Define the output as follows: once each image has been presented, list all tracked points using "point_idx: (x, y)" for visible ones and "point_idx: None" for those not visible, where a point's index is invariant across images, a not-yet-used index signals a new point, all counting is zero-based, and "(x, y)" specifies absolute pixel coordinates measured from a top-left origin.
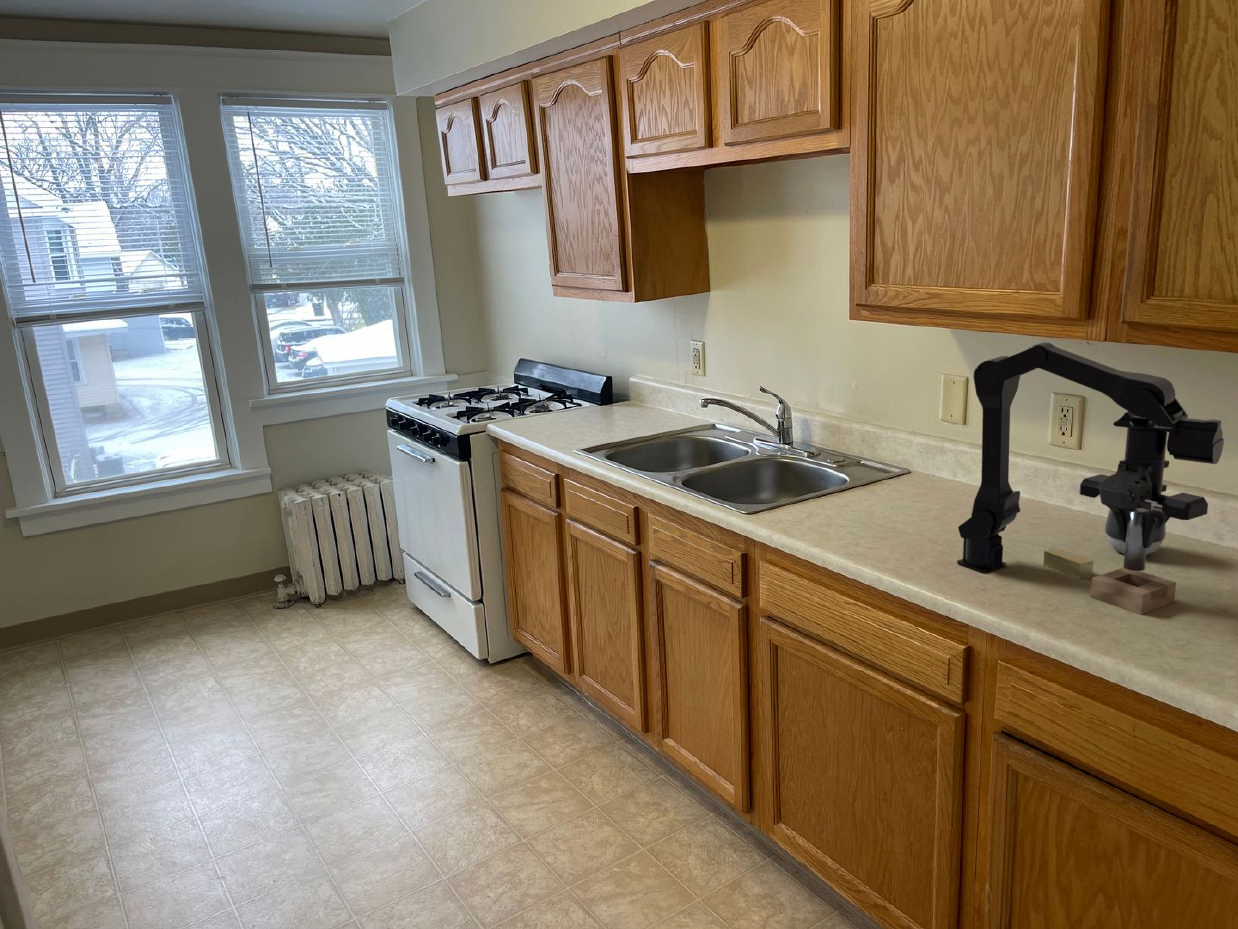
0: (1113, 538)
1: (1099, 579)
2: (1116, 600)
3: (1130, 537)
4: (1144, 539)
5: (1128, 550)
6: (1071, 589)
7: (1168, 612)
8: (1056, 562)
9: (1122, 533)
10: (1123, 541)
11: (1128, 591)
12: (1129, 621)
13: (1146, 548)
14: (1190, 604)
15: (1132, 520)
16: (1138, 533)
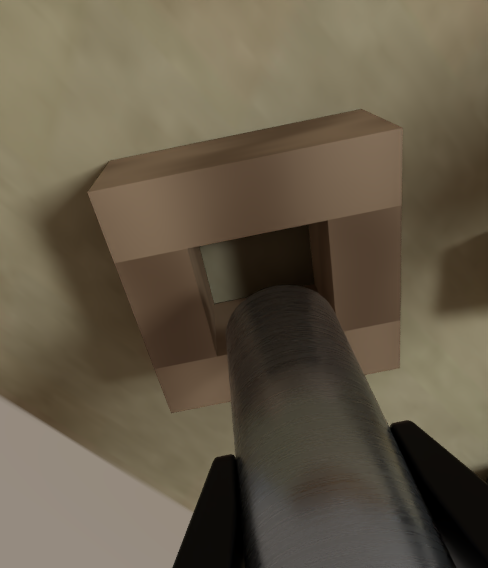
0: None
1: (365, 151)
2: (233, 142)
3: (335, 472)
4: (223, 525)
5: (310, 368)
6: (473, 99)
7: (99, 275)
8: None
9: (455, 479)
10: (410, 423)
11: (174, 173)
12: (54, 43)
13: (216, 460)
14: (138, 380)
15: None
16: (279, 560)
